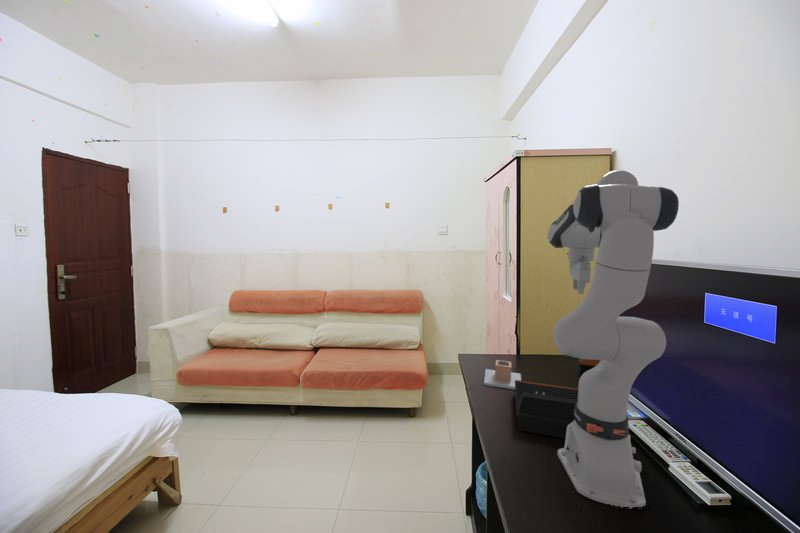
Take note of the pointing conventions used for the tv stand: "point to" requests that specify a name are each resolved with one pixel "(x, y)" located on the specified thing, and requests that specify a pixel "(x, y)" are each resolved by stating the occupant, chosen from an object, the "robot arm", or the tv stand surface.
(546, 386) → the video game console
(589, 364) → the battery
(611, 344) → the robot arm
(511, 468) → the tv stand surface
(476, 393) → the tv stand surface
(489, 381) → the keeper dock
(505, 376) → the open-ended wooden box
